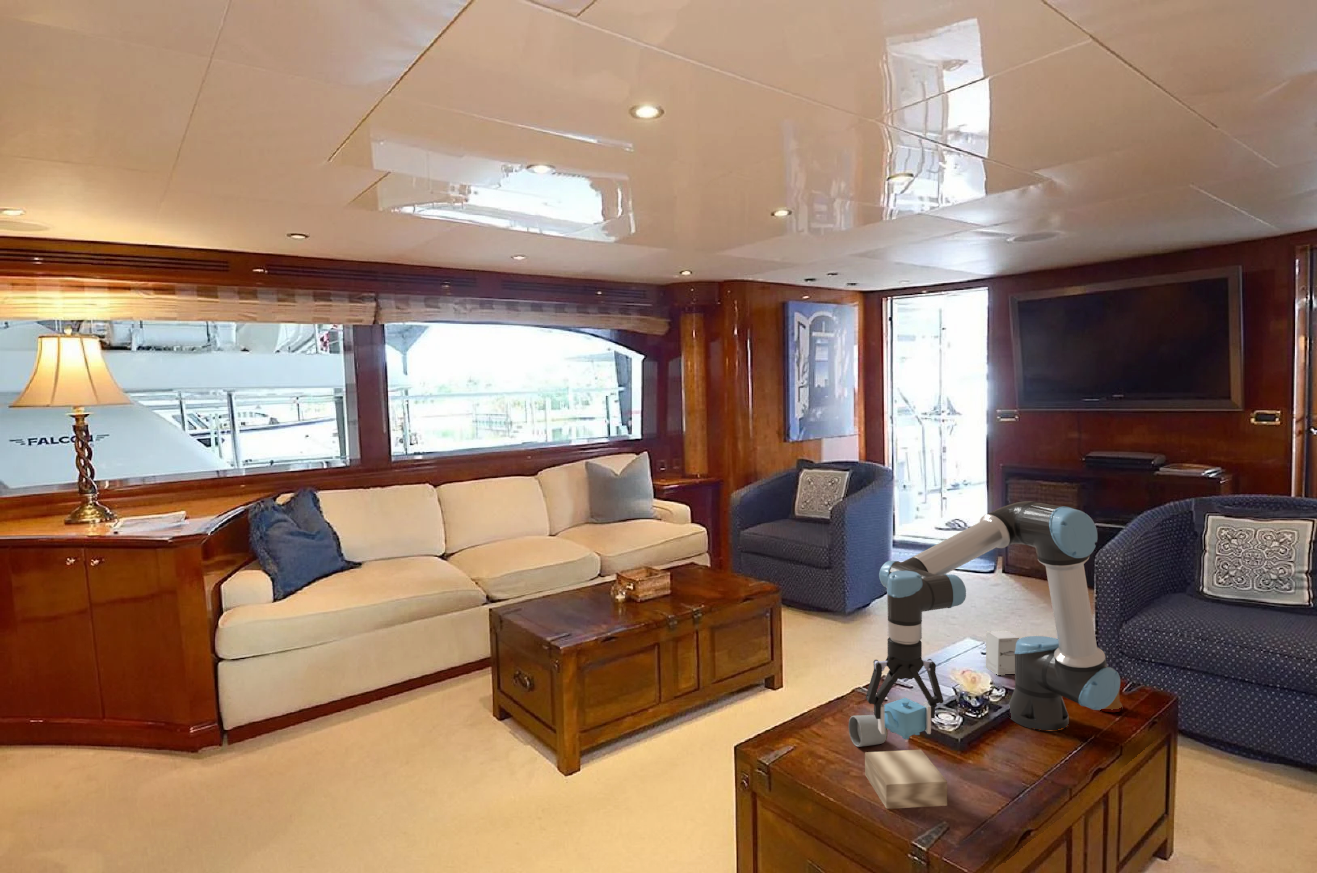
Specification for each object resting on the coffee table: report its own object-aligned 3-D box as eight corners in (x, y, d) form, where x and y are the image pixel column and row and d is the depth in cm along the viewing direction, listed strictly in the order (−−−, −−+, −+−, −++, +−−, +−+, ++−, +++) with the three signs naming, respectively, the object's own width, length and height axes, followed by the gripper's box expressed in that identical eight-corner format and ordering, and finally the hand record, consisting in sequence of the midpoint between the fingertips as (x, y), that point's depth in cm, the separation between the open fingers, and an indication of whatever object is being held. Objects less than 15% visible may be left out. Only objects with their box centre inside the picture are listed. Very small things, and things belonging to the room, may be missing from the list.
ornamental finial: (1096, 713, 201) (1088, 701, 208) (1126, 715, 199) (1116, 703, 206) (1097, 686, 201) (1088, 675, 208) (1127, 688, 199) (1117, 677, 206)
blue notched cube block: (894, 746, 159) (894, 714, 159) (874, 734, 165) (874, 703, 164) (930, 732, 165) (930, 701, 165) (909, 721, 171) (909, 691, 170)
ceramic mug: (889, 748, 185) (889, 719, 184) (861, 752, 183) (861, 723, 183) (869, 729, 195) (869, 702, 195) (842, 733, 193) (841, 706, 193)
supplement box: (997, 676, 227) (998, 638, 226) (985, 667, 234) (985, 630, 234) (1019, 675, 228) (1020, 637, 227) (1006, 666, 235) (1006, 629, 234)
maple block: (920, 773, 173) (920, 749, 173) (947, 806, 159) (947, 781, 159) (865, 776, 173) (865, 752, 172) (886, 810, 159) (886, 784, 158)
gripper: (947, 632, 167) (946, 723, 168) (851, 633, 167) (851, 724, 169) (959, 644, 159) (959, 739, 161) (859, 645, 160) (859, 739, 162)
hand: (904, 731), depth 165 cm, fingers closed on blue notched cube block, 10 cm apart
